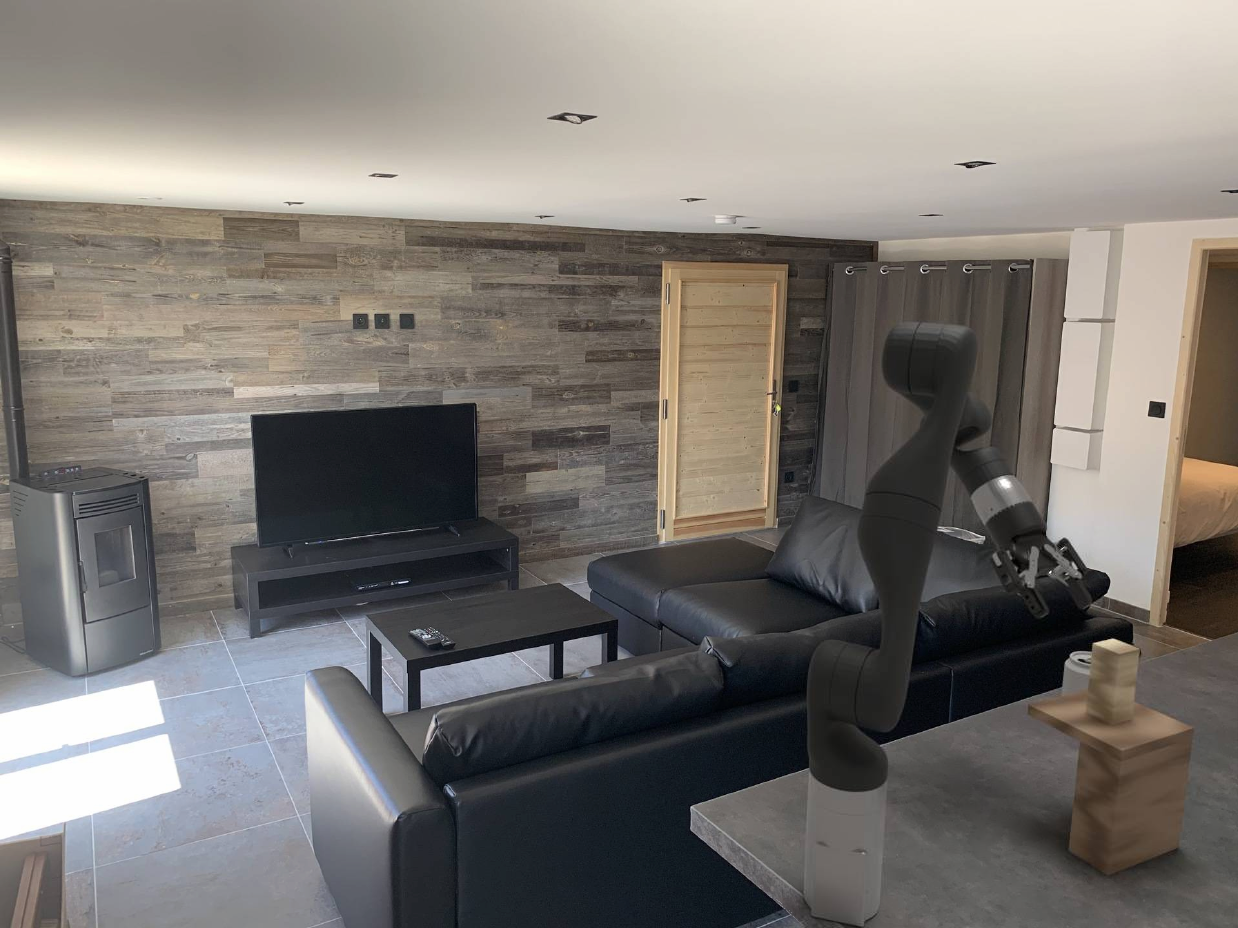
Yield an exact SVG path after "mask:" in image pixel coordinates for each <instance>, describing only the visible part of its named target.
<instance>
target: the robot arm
mask: <svg viewBox="0 0 1238 928" xmlns="http://www.w3.org/2000/svg"><path fill="white" fill-rule="evenodd" d="M977 356H978V337H977V334H976V333H975V331H974V330H973V329H972V328H971V327H969V326H965V325H958V324H951V323H950V324H946V323H937V322H936V323H935V322H922V321H921V322H920V321H903V322H900V323H897V324H895V325H893V327H891V328H890V330H889V331H888V334H887V335H886V338H885V339H884V343H883V349H882V354H881V372H882V376H883V379H884V382H885V384H886V385H887V387H888V388H889V389H890V390H892V391H894V392H895V393H898V394H899V395H900V396H901V397H903V398H904V399H906V400H908V401H909V402H911V403H912V404H913V405H914V406H915V407H916V408H918V409H919V410H920V411H921V413H922V415H923V416H922V417H921V420H920V421H919V428H918V429H917V430H916V431H915V433H914V434H913V435H912V436H911V437H910V438H908V440H907V441H906V442H905V443H904V444H903V445H901V447H899V449H898V450H896V451H895V452H894V453H893V454H892V455H891V456H890V457H889V458H888V459H887V460H886V461H885V462H884V463H883V464H882V465H881V466H880V467H879V468H878V469H877V470H876V471H875V473H874V474H873V475H872V477H871V478H870V480H869V482H868V484H867V486H866V490H865V494H864V498H863V502H862V507H861V512H860V514H859V519H858V524H857V529H856V538H857V543H858V547H859V551H860V553H861V556H862V557H861V558H862V560H863V562H864V565H865V567H866V571H867V573H868V575H869V577H870V579H871V582H872V585H873V587H874V590H875V593H876V597H877V599H878V603H879V607H880V608H879V609H880V612H881V613H880V614H881V626H882V627H881V638H880V639H881V640H880V645H879V648H875V647H872V646H871V647H870V646H865V645H861V644H856V643H854V642H853V643H852V642H848V641H844V640H839V639H826V640H823V641H822V642H821V643H819V645H818V646H817V647H816V648H815V650H814V652H813V654H812V656H811V660H810V663H809V668H808V672H807V683H806V706H807V707H806V709H807V710H806V711H807V712H806V713H807V715H806V716H807V736H806V737H807V745H806V746H807V753H808V754H807V755H808V758H809V761H808V783H807V784H808V787H807V806H806V826H805V827H806V829H805V848H804V850H805V851H804V872H803V873H804V875H803V898H804V900H805V903H806V905H807V906H808V907H809V908H810V910H811V911H810V913H811V914H810V915H811V916H812V917H814V918H818V919H823V920H829V921H833V922H839V923H843V924H846V925H852V926H857V927H864V926H865V923H866V921H867V920H869V919H871V918H873V917H874V916H875V915H876V914H877V913H878V911H879V909H880V903H881V901H880V900H881V888H882V887H881V886H882V871H883V870H882V868H883V853H884V852H883V851H884V838H885V823H886V822H885V820H886V819H885V818H886V802H887V793H888V792H887V791H888V789H887V788H888V777H889V776H888V774H889V773H888V772H889V758H888V755H887V753H886V751H885V750H884V749H883V747H881V745H880V744H878V742H876V741H875V740H873V739H872V738H870V737H869V736H867V734H865V732H863V731H861V730H860V729H859V728H858V727H860V728H863V729H867V730H871V731H875V732H880V733H888V732H891V731H892V730H893V729H894V728H895V727H896V726H897V724H898V723H899V721H900V718H901V716H902V714H903V713H902V712H903V710H904V706H905V703H906V699H907V694H908V689H909V682H910V677H911V676H910V675H911V668H912V661H913V653H914V648H915V647H914V646H915V641H916V632H917V626H918V618H919V612H920V608H921V602H922V597H923V592H924V588H925V584H926V578H927V576H928V570H929V566H930V562H931V557H932V553H933V550H934V548H935V547H934V546H935V543H936V538H937V535H938V534H937V533H938V529H939V525H940V521H941V514H942V510H943V505H944V499H945V492H946V487H947V481H948V475H949V469H950V468H951V469H952V470H953V472H954V473H955V474H956V476H957V477H958V479H959V480H960V482H961V483H962V485H963V487H964V489H965V491H966V492H967V494H968V495H969V497H970V500H971V501H972V503H973V506H974V509H975V510H976V514H977V515H978V517H979V518H980V520H981V521H982V524H983V525H984V527H985V528H986V531H987V532H988V534H989V536H990V538H991V540H992V541H993V543H994V545H995V546H996V548H997V551H996V552H994V553H993V554H992V555H991V556H989V562H990V563H991V565H992V568H993V569H994V571H995V574H996V575H997V577H998V580H999V581H1000V583H1001V585H1002V587H1003V589H1004V591H1005V592H1006V593H1007V594H1012V593H1015V594H1017V595H1019V596H1021V598H1022V599H1023V601H1024V602H1025V604H1026V606H1027V608H1028V609H1029V611H1030V612H1031V614H1032V615H1033V617H1034V618H1036V619H1041V618H1044V617H1045V616H1047V615H1048V614H1049V613H1050V609H1049V607H1048V605H1047V604H1046V602H1045V600H1044V598H1043V597H1042V594H1041V593H1040V592H1039V589H1038V588H1037V587H1035V582H1036V581H1035V579H1036V578H1035V577H1037V576H1048V577H1049V578H1051V579H1057V580H1058V581H1060V582H1061V583H1062V584H1064V586H1066V590H1067V591H1068V593H1069V595H1070V597H1072V600H1073V601H1074V603H1075V605H1076V607H1077V608H1078V609H1079V610H1084V609H1086V608H1088V607H1090V606H1091V605H1092V604H1093V597H1092V596H1091V593H1089V591H1088V589H1087V587H1086V586H1085V584H1084V582H1083V581H1082V578H1083V577H1084V576H1085V575H1086V574H1088V573H1089V569H1088V567H1087V566H1086V564H1085V563H1084V561H1083V560H1082V558H1081V557H1080V555H1079V554H1078V552H1077V551H1076V550H1075V548H1074V546H1073V545H1072V543H1071V541H1069V539H1068V538H1066V537H1062V538H1061V539H1059V540H1057V541H1055V542H1053V541H1051V539H1049V538H1048V536H1047V531H1048V525H1047V523H1046V522H1045V521H1044V519H1043V517H1042V515H1041V514H1040V512H1039V511H1038V509H1037V507H1036V506H1035V504H1034V502H1033V501H1032V498H1031V497H1030V495H1029V494H1028V492H1027V491H1026V489H1025V488H1024V486H1023V485H1022V484H1021V483H1020V481H1019V480H1018V479H1017V478H1016V476H1015V475H1014V473H1013V471H1012V469H1011V467H1010V466H1009V463H1007V462H1006V459H1005V458H1004V456H1003V454H1002V453H1001V452H1000V450H999V449H998V448H996V447H993V446H982V447H979V448H976V449H975V448H974V449H971V450H962V449H959V448H961V447H963V446H965V445H967V444H969V443H971V442H974V441H975V440H976V439H979V438H981V437H983V436H984V435H985V434H986V433H987V432H988V431H989V430H990V428H991V426H992V424H993V418H992V417H993V416H992V414H991V411H990V409H989V407H988V406H987V404H986V403H985V402H984V401H983V399H981V398H980V397H979V396H978V395H976V394H974V393H973V392H971V391H970V389H971V384H972V381H973V376H974V373H975V368H976V363H977V358H978V357H977ZM1073 564H1074V565H1075V566H1076V569H1075V567H1074V566H1073ZM1065 573H1066V574H1067V575H1066V574H1065ZM1009 578H1010V579H1011V581H1010V579H1009Z"/></svg>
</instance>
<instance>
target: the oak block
mask: <svg viewBox="0 0 1238 928" xmlns="http://www.w3.org/2000/svg"><path fill="white" fill-rule="evenodd" d="M1091 648H1092V649H1091V652H1092V656H1091V665H1090V675H1089V684H1088V694H1087V703H1086V713H1087V714H1089V715H1091V716H1093V717H1096V718H1098V719H1100V720H1102V721H1104V722H1106V723H1108V724H1110V725H1113V724H1117V723H1120V722H1124V721H1127V720H1130V719H1132V714H1133V705H1134V702H1135V696H1136V695H1135V694H1136V688H1137V687H1136V686H1137V678H1138V668H1139V660H1140V650H1141V648H1139V647H1136V646H1134V645H1132V644H1128V643H1126V642H1123V641H1121V640H1118V639H1115V638H1110V639H1107V640H1101V641H1097V642H1093V643H1092V647H1091Z"/></svg>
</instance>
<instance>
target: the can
mask: <svg viewBox="0 0 1238 928" xmlns="http://www.w3.org/2000/svg"><path fill="white" fill-rule="evenodd" d="M1091 656H1092V651H1081V650H1080V651H1079V650H1078V651H1073V652H1072V653H1070V654H1069V658H1068V659H1066V661H1065V662H1064V670H1063V679H1062V688H1061V696H1062V695H1065V694H1069V693H1073V692H1077V691H1080V690H1084V689H1088V684H1089V675H1090V665H1091Z"/></svg>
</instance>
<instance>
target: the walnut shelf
mask: <svg viewBox="0 0 1238 928" xmlns="http://www.w3.org/2000/svg"><path fill="white" fill-rule="evenodd" d="M1087 694H1088V689H1084V690H1080V691H1077V692H1073V693H1069V694H1065V695H1062V694H1061V695H1058V696H1055V697H1051V698H1047V699H1044V700H1040V701H1036V702H1033V703H1029V704H1028V705H1027V706H1028V707H1027V715H1028V716H1029V717H1031V718H1034V719H1036V720H1038V721H1040V722H1041V723H1043V724H1045V725H1047V726H1049V727H1051V728H1053V729H1056V730H1057V731H1059V732H1061V733H1063V734H1065V735H1067V736H1070V738H1073V739H1075V740H1077V741H1079V747H1078V757H1077V767H1076V774H1075V775H1076V776H1075V785H1074V795H1073V805H1072V816H1071V824H1070V835H1069V843H1068V852H1070V853H1071V854H1073V855H1074V856H1076V857H1078V858H1079V859H1081V860H1083V861H1084V862H1086V863H1088V865H1090V866H1092V867H1093V868H1095V869H1097V870H1098V871H1100V872H1101V873H1103V874H1105V875H1106V876H1111V875H1114V874H1115V873H1119V872H1121V871H1123V870H1126V869H1128V868H1130V867H1131V868H1132V867H1133V866H1136V865H1139V864H1141V863H1143V862H1146V861H1149V860H1151V859H1153V858H1156V857H1159V856H1161V855H1163V854H1166V853H1169V852H1171V851H1174V850H1176V849H1179V847H1180V839H1181V833H1182V824H1183V818H1184V816H1183V815H1184V809H1185V803H1186V802H1185V801H1186V794H1187V785H1188V779H1189V771H1190V762H1191V755H1192V748H1193V747H1192V746H1193V741H1194V734H1195V733H1194V731H1195V727H1194V726H1191V725H1189V724H1186V723H1184V722H1182V721H1179V720H1178V719H1175V718H1173V717H1170V716H1168V715H1166V714H1164V713H1162V712H1159V711H1157V710H1154V709H1152V708H1149V707H1148V706H1145V705H1142V704H1141V703H1138V702H1136V701H1134V705H1133V714H1132V719H1130V720H1127V721H1124V722H1120V723H1117V724H1113V725H1110V724H1108V723H1106V722H1104V721H1102V720H1100V719H1098V718H1096V717H1093V716H1091V715H1089V714H1087V713H1086V703H1087Z"/></svg>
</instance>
